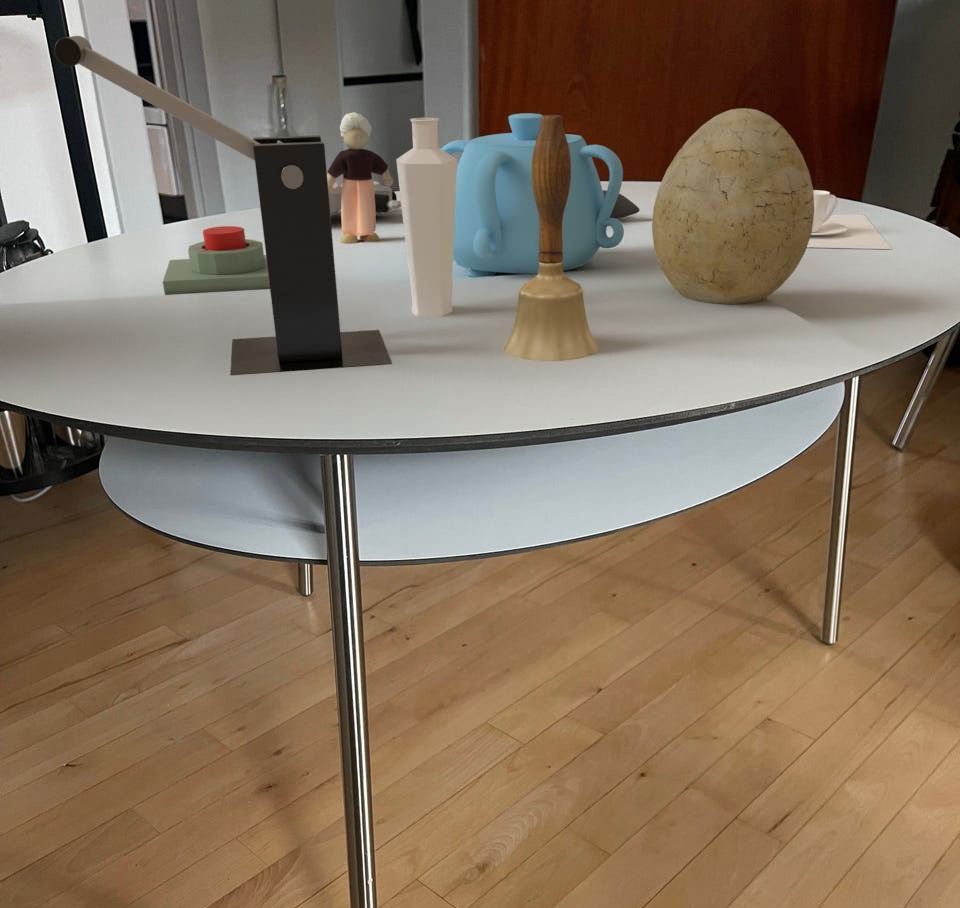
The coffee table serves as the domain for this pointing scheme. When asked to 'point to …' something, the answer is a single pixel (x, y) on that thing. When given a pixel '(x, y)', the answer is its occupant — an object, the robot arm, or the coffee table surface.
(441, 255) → the white faceted vase
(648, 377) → the coffee table surface
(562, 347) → the hand bell
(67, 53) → the lever
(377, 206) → the robot toy
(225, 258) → the control block
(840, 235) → the teacup and saucer
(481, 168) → the decorative pot
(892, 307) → the coffee table surface
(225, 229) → the button
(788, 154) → the fossilized egg
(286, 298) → the bracket
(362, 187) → the grandmother figurine
